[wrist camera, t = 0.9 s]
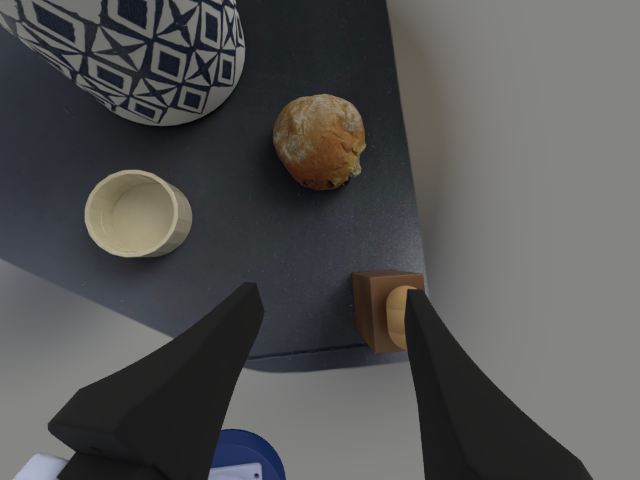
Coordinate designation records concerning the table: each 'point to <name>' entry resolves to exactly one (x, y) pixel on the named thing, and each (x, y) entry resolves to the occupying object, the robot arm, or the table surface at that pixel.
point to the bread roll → (320, 141)
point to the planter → (138, 51)
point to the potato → (397, 315)
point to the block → (378, 304)
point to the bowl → (137, 215)
